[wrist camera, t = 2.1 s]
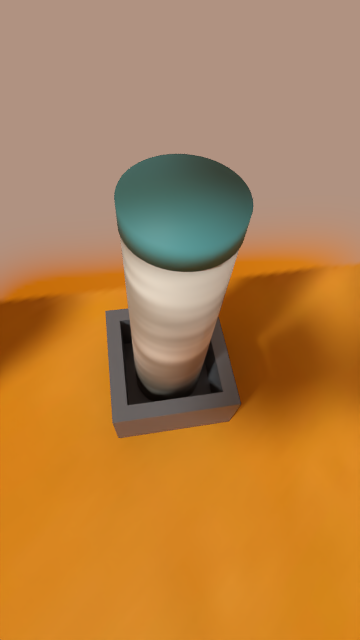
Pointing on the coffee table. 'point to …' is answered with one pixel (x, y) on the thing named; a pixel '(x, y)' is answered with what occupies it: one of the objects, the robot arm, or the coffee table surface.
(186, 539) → the coffee table surface
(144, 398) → the charcoal holder block
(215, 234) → the ivory peg
